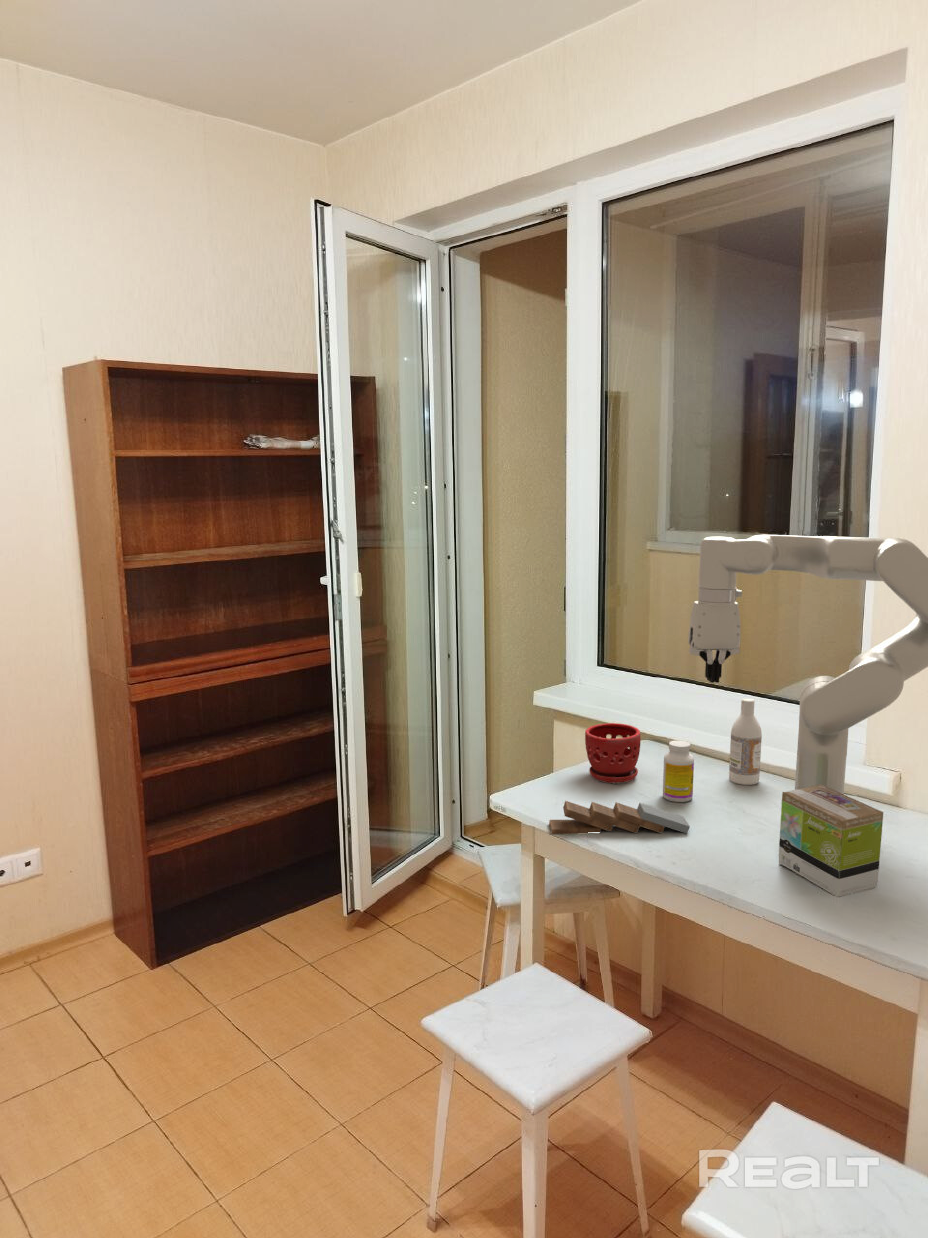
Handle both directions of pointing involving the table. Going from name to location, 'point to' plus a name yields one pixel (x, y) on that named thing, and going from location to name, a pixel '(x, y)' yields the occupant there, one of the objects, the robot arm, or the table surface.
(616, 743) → the plant pot
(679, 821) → the head domino
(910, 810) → the table surface
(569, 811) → the domino
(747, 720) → the bath foam
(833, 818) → the tea box
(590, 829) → the domino
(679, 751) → the supplement bottle
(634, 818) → the domino
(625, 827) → the domino
